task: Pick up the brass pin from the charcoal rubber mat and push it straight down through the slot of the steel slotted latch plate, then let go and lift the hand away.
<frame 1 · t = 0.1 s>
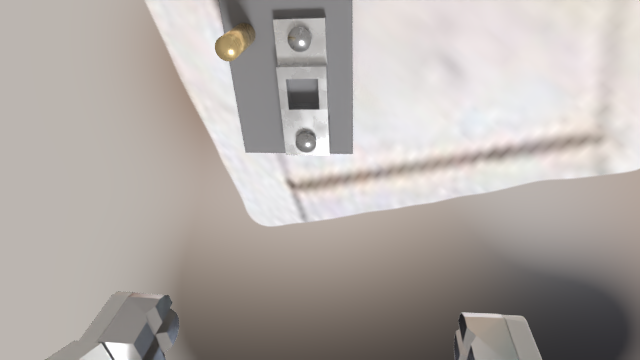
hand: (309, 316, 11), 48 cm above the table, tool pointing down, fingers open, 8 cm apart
brass pin: (245, 34, 53), point 1 cm above the table, touching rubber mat
slotted latch plate: (305, 87, 57), resting on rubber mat
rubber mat: (292, 81, 57), on the table
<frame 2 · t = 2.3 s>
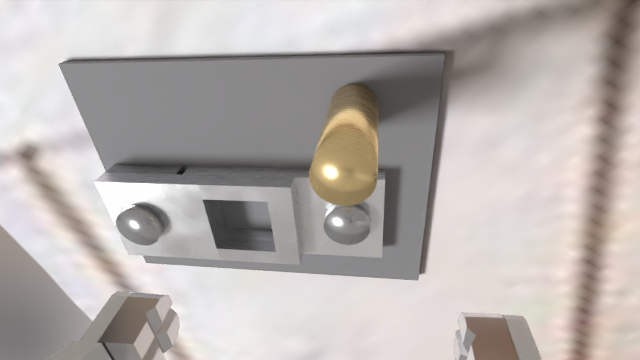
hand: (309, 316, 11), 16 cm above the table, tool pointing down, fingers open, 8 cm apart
brass pin: (354, 106, 23), point 1 cm above the table, touching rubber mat
slotted latch plate: (252, 201, 29), resting on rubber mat
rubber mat: (261, 180, 28), on the table
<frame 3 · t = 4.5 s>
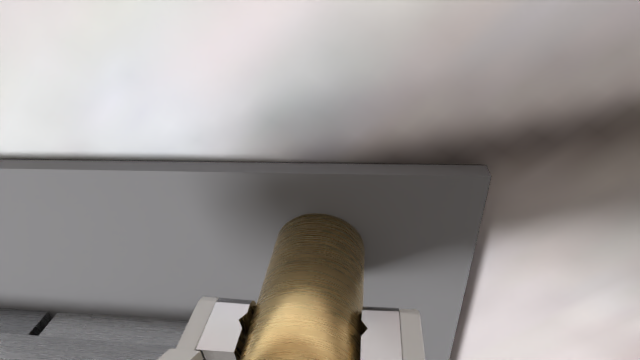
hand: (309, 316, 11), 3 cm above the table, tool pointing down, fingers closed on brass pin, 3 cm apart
brass pin: (320, 248, 13), point 1 cm above the table, touching gripper, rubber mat
slotted latch plate: (170, 352, 19), resting on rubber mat
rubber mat: (178, 328, 17), on the table
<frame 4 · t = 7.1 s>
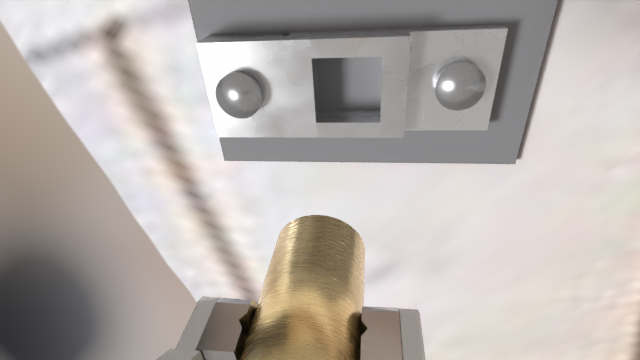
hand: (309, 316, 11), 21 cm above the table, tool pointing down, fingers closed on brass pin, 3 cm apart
brass pin: (320, 249, 13), point 18 cm above the table, touching gripper
slotted latch plate: (349, 77, 28), resting on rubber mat
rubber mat: (363, 49, 27), on the table
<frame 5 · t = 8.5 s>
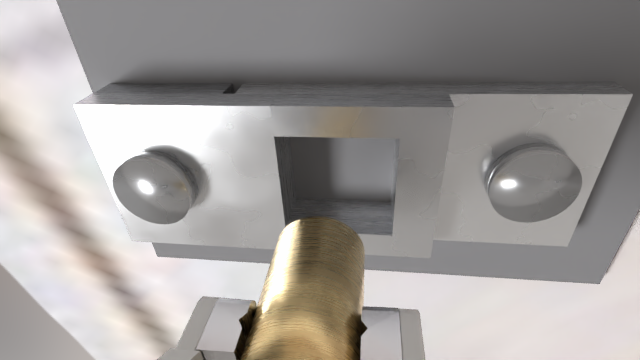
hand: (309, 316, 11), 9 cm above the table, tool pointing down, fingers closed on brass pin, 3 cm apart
brass pin: (320, 251, 13), point 6 cm above the table, touching gripper
slotted latch plate: (342, 152, 17), resting on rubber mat
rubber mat: (365, 112, 16), on the table
when the fingers open (4 cm above the table, at t = 9.7 s): brass pin stays where it is, resting on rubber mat.
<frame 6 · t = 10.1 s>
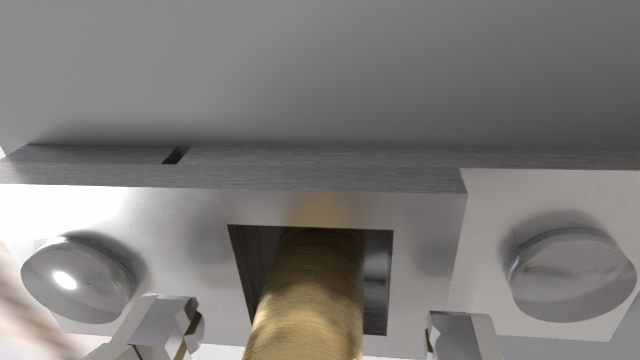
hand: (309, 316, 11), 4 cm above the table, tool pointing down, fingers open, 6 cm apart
brass pin: (323, 235, 14), point 1 cm above the table, touching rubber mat
slotted latch plate: (323, 221, 14), resting on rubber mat
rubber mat: (350, 177, 13), on the table
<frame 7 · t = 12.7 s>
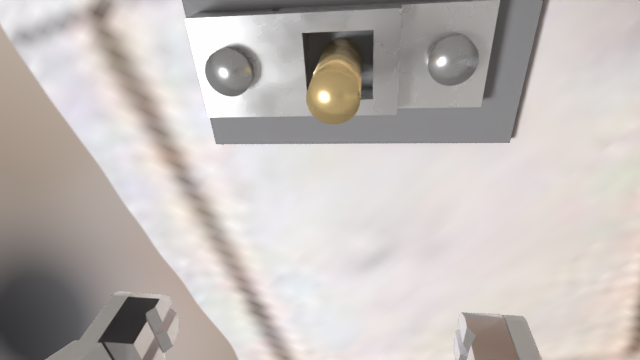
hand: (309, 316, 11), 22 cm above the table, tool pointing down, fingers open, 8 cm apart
brass pin: (341, 59, 27), point 1 cm above the table, touching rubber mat
slotted latch plate: (341, 55, 28), resting on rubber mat
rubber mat: (354, 26, 27), on the table
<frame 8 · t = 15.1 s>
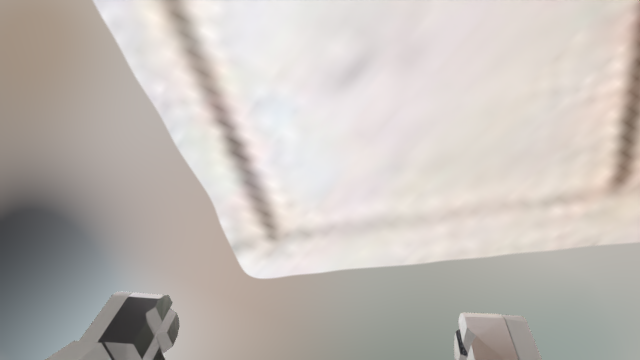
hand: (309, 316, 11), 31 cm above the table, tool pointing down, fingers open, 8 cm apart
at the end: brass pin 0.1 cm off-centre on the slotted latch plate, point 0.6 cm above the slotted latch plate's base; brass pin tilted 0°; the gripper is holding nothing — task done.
